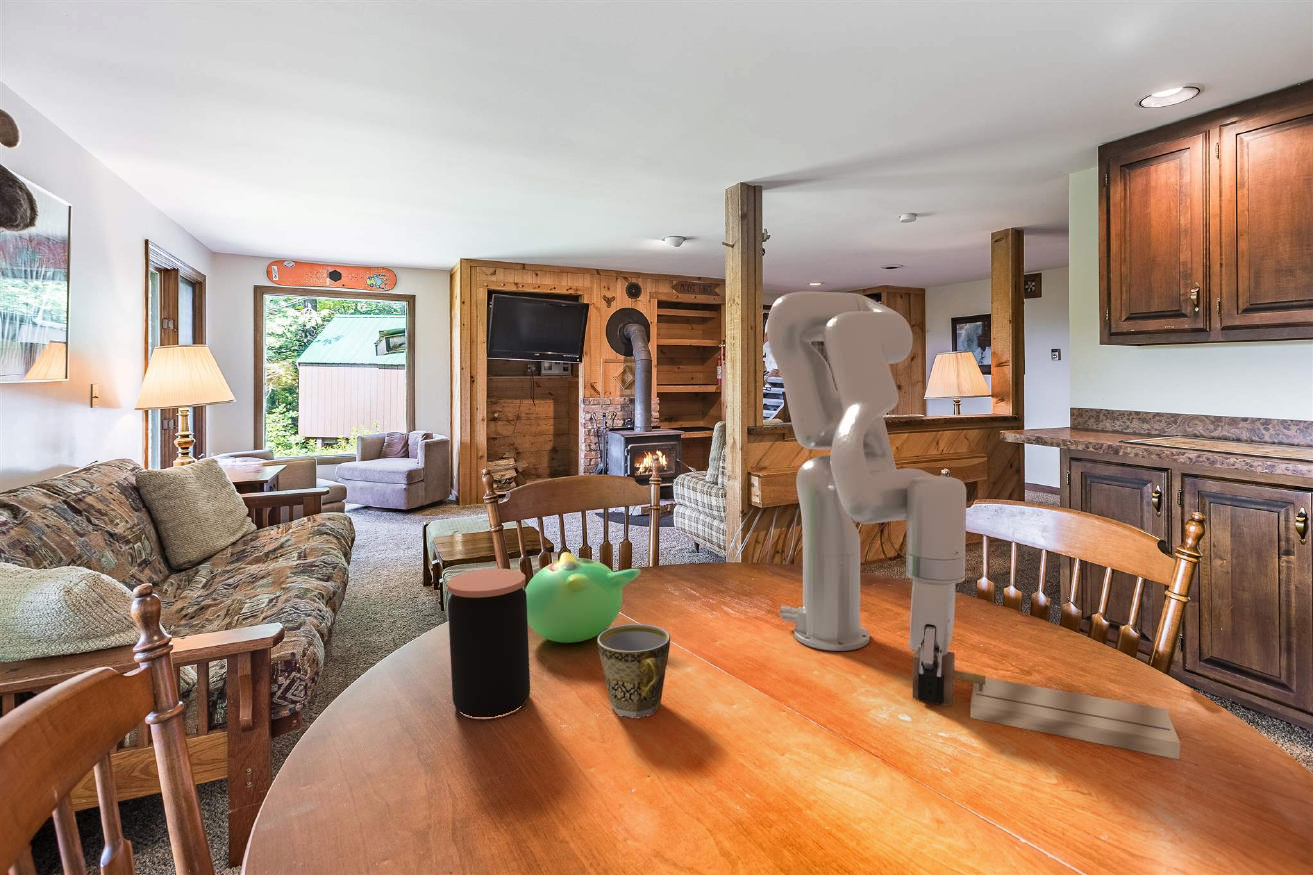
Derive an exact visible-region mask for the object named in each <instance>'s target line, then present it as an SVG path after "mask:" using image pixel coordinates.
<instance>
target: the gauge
mask: <svg viewBox="0 0 1313 875" xmlns="http://www.w3.org/2000/svg"><path fill="white" fill-rule="evenodd" d="M920 650H921V646H920V647H919V649H918V651H917V650H914V654H913V656H912V696H911V698H912V697H913V698H915V699H914V700H918V672H919V669H920ZM934 652H939V650H935V649H934ZM955 654H956V653H955V652H953V651H948V653H947V654H946V655H944V656H943V659H942V675H944V701H943V704H942V705H944V704H945V706H951V707H952V704H953V699H954V696H953V695H954V694H955V680H956V681H961V682H967V683H972V684H974V683H976V684H979V691H983V685H985V678H986V675H984V674H983V675H982V674H975V673H972V672H967V671H966V672H965V671H960V670H955V658H956V656H955ZM934 661H936V662H938V657H934ZM913 698H912V699H913Z"/></svg>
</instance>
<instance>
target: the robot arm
mask: <svg viewBox="0 0 1313 875" xmlns="http://www.w3.org/2000/svg"><path fill="white" fill-rule="evenodd" d="M766 332H767V341H768V345H769V349H770V352H771V355H772V357H773V360H774V362H775V364H776V366H777V368H778V372H779V374H780V376H781V380H782V383H783V384H782V385H783V388H784V393H785V397H786V403H787V407H788V411H789V416H790V420H791V425H792V429H793V432H794V436H795V439H796V440H797V442H798V444H799V446H801V447H803V448H804V449H808V450H830V454H827V455H819V456H816V457H812V458H810V459H808V460H807V461H805V462H804V463H803V464H802V465H801V466H800V467H799V469H798V471H797V474H796V479H795V480H796V481H795V482H796V483H795V484H796V491H797V497H798V502H799V507H800V513H801V515H800V516H801V526H802V606H798V607H797V608H796V607H792V606H786V605H781V606H780V608H779V616H780V617H782V621H784V622H791V623H792V622H794V623H795V625H794V628H793V636H794V638H795V639H796V640H797V641H798V642H800V643H801V644H803V645H805V646H807V647H809V648H813V649H818V650H823V651H833V652H843V651H845V652H846V651H854V650H857V649H861V648H864V647H865V646H866V645H868V643H869V642H870V632H869V630H868V629H867V628H866V627H864V626H863V625H861V539H860V538H861V537H860V533H859V531H858V530H859V529H858V528H857V527H856V525H855V522H856V523H860V524H863V525H869V524H878V523H887V522H894V521H905V520H906V547H905V548H906V552H905V553H906V559H905V561H906V562H905V563H906V565H905V566H906V568H905V570H906V571H905V573H906V576H907V577H908V578H909V579H911V580H912V581H913V582H912V588H911V597H910V598H911V600H910V602H911V603H910V617H909V618H910V620H909V641H908V649H909V650H910V651H911V652H915V650H917V651H918V649H919V647H921V650H920V669H919V672H918V699H919V701H921V702H924V703H925V702H926V703H929V704H936V705H944V704H943V701H944V675H942V659H943V656H944V655H946V654H947V653H948V652H949V649H950V646H951V641H952V637H953V632H954V623H955V610H956V609H955V608H956V607H955V606H956V584H959V583H963V582H964V581H965V579H966V538H967V536H966V535H967V533H966V532H967V531H966V529H967V528H966V526H967V487H966V485H965V483H964V481H963V480H961V479H958V478H956V477H952V476H944V475H943V476H941V475H935V474H932V473H929V472H927V471H926V470H922V469H918V468H909V467H908V468H897V466H896V462H895V458H894V457H895V456H894V453H893V449H892V446H891V445H892V444H891V441H890V438H889V433H888V430H887V426H886V421H885V419H884V415H886V414H887V413H889V412H890V411H891V412H892V410H893V409H894V408H895V407H896V406H897V405H898V403H899V401H900V400H899V399H900V396H899V392H898V389H897V387H896V384H895V380H894V377H893V374H892V370H891V366H890V364H898V363H900V362H903V361H904V360H906V358H907V357H908V356H909V355H910V353H911V351H912V348H913V343H914V342H913V339H914V338H913V332H912V328H911V327H910V324H909V323H908V321H907V319H906V318H905V317H904V316H903V315H902V314H900V313H899V312H898V311H896V310H894V309H892V308H890V307H888V306H886V305H883V304H882V303H879V302H878V301H876V300H874V299H872V298H870V297H867V296H865V295H863V294H859V293H854V292H837V291H835V292H834V291H832V292H830V291H813V290H812V291H810V290H809V291H808V290H807V291H806V290H805V291H794V292H791V293H786V294H784V295H782V296H780V297H779V298H777V299H776V300H775V302H773V303H772V306H771V308H770V310H769V314H768V318H767V327H766ZM812 342H823V345H824V349H825V352H826V355H827V359H828V363H829V364H828V363H827V361H826V359H825V358H824V357H823V355H822V354H821V353H820V352H819V351H818V350H817V349H816V348H815V347H814V346H813V345H812ZM934 649H935V650H939V652H934ZM934 657H938V662H936V661H934ZM918 699H917V700H918Z"/></svg>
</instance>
